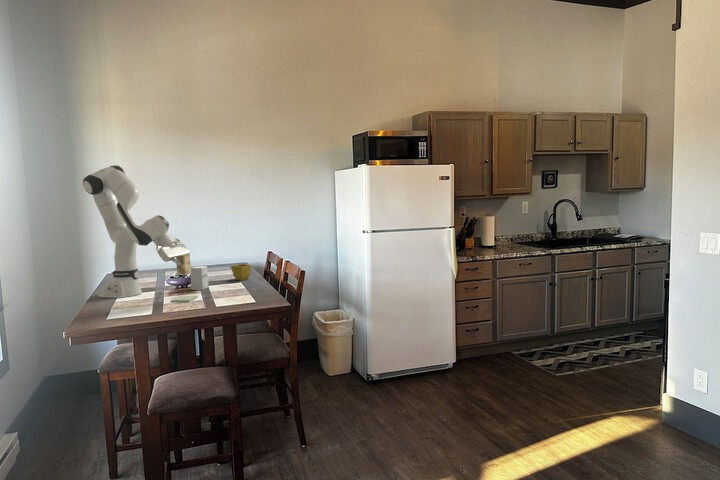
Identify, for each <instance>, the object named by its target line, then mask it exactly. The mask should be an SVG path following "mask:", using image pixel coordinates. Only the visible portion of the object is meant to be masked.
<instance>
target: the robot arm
mask: <svg viewBox="0 0 720 480" xmlns="http://www.w3.org/2000/svg"><path fill="white" fill-rule="evenodd" d="M82 187H83V188H84V191H86V192H87V193H88V194H89V195H92V197H93V200H94V203H95V205H96V207H97V209H98V212H99V214H100V217H102V219H103V222H104V225H105V228H106V231H107V233H108V235H109V238H110V240H111V241H112V242H113V244H115V248H114V250H115V251H114V257H113V258H114V270H113V271H112V272H111V275H112V277H111V278H110V279H108V281H107V282H105V284H104V285H103V287H102V293H100V294H99V295H98V298H111V299H113V298H114V299H122V298H127V297H132V296H133V297H134V296H139V295H141V294H142V293H143V291H142V288H141V286H140V281H139V271H138V270H139V269H138V267H137V266H138V265H137V245H138V246H145V247H147V246H148V245H149V244H151V243H152V242H153V243H154V246H156V247H155V248H156V252H157V254H158V255H159V257H160V258H161V260H162V261H164V262H165V263H168V262H171V261H172V262H173V263H175V264H178V265H179V266H180V265H181V264H182V262H181V261H179V260H177V258H176V257H177V255H182V254H190V255H191V250H190V249H189V248H188V247H187V246H186V244H184V243H183V242H182V239H181V238H176V237H174V236H171V235H170V234H168V232H169V228H170V222H169V221H168V219H166V218H165V217H164V216H162V215H155V216H153V217H151V218H149V219H147V220H146V221H144V222H143V223H142V224H141V225H138V224H137V223H136V221H135V220H134V218H133V216H132V214H131V210H132V208H133V207H134V205H135V204H136V203H137V201H138V199H139V196H140V191H139V188H138V186H137V185H136V184H135V183H134V182H133V181H132V179H130V177H129V176H127V175H126V173H125V170H124V169H123V168H122V167H121V166H120V165H117V164H116V165H115V164H114V165H110V166H108V167H104V168H100V169H99V170H97V171H95V172H93V173H91V174H88V175H86V176H85V177H84V178H83V180H82Z"/></svg>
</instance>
